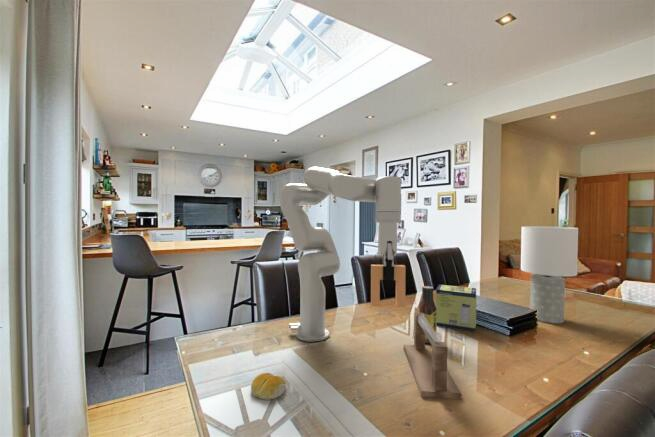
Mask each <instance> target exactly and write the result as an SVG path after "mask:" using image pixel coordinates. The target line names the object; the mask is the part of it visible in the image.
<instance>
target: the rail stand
mask: <svg viewBox="0 0 655 437" xmlns="http://www.w3.org/2000/svg"><path fill="white" fill-rule="evenodd" d="M413 330H414V331H413V334H414V335H413V344H403V351H404V355H405V357H406V359H407V362H408V365H409V367H410V368H409V369H410V371H411V373H412V375H413V379H414V382H415V384H416V387H417V389H418V392H419V395H420V397H421V398H436V399H450V400H451V399H452V400H455V399H456V400H462V392H461V390H460V389H459V387H458V385H457V383H456V382H455V380H454V379H453V377H452V376H451V373H450V372H449V370H448V346H447V344H446V343H445V342H444V341H442V340H441V339H440V337H439V335H438V334H437V331H436V332H435V331H434V330H433V328H432V327H431V325H430V324H429V322H428V321H427V319H426V316H425V314H424V313H419V312H414V329H413ZM425 334H426V336H427V338H428V339H429V341H430V343H429V344H431V345H426V343H425Z"/></svg>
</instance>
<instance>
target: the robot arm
mask: <svg viewBox="0 0 655 437" xmlns="http://www.w3.org/2000/svg"><path fill="white" fill-rule="evenodd" d="M302 179H303V183H298V182H297V183H295V182H294V183H288V184H285V185H284V186H283V187H282V188H281V190H280V192H279V198H278V199H279V200H278V201H279V205H280V209H281V211H282V214H283V216H284V218H285V219H286V222H287V225H288V228H289V231H290V234H291V237H292V241H293V244H294V246H295V248H296V250H298V251H299V252H301V253H302V252H304V253H305V252H309V253H306V254H303V255H302V256H301V257H300V258H299V259H298V262H297V271H298V275H299V277H298V278H299V285H300V289H299V290H300V291H299V292H300V293H299V298H300V302H299V303H300V306H299V308H300V309H299V312H300V314H299V315H300V316H299V318H300V319H299V322H296V323H295V322H294V323H293V322H290V323H289V324H288V328H289V329H290V331H296V332H295V337H296V338H297V339H298V340H301V341H304V342H310V343H316V342H321V341H324V340H327V339H328V338H329V336H330V332H329V330H328V329H327V328H326V286H325V284H324V282H323V280H322V278H323V277H327V276H332V275H335V274H336V273H338V272H339V271H340V267H341V260H340V257H339V254H338V250H337V248H336V245H335V242H334V240H333V238H332V235H331V233H330V232H329V231H328V230H327V229H326V228H325V227H320V226H312V224H311V222H310V219H309V216H308V214H307V213H306V212H305V210H303V208H302V207H301V206H316V205H319V204H320V203H322V201H324V200H325V199H326V198H328V196H330V195H332V196H334V197H337V198H340V199H343V200H347V201H351V202H365V203H375V223H378V237H377V238H378V239H377V241H378V242H377V245H378V246H377V253H378V255H379V256H380V257H382V264H381V265H384V266H383V281H395V280H394V265H395V264H394V261H395V260H394V259H395V258H394V257H396V256H397V251H398V249H397V248H398V224H399V223H400V224H401V222H402V212H401V211H402V180H401V179H400V178H399V177H398V176H395V175H394V176H392V175H387V176H379V177H378V178H376V179H375V178H369V177H363V176H355V175H349V174H344V173H343V172H342V171H341V170H335V169H331V168H326V167H320V166H312V167H309V168H308V169H306V170H305V172H304V173H303V178H302ZM315 251H316V252H315Z"/></svg>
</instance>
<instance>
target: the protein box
mask: <svg viewBox="0 0 655 437" xmlns="http://www.w3.org/2000/svg"><path fill="white" fill-rule="evenodd" d="M435 306H436V309H437V327H443V328H448V329H453V330H461V331H466V332H474V333H475V332H476V329H477V328H476V327H477V288H476V287H469V286H468V287H466V286H457V285H446V284H438V286H437V287H436V291H435Z"/></svg>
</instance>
